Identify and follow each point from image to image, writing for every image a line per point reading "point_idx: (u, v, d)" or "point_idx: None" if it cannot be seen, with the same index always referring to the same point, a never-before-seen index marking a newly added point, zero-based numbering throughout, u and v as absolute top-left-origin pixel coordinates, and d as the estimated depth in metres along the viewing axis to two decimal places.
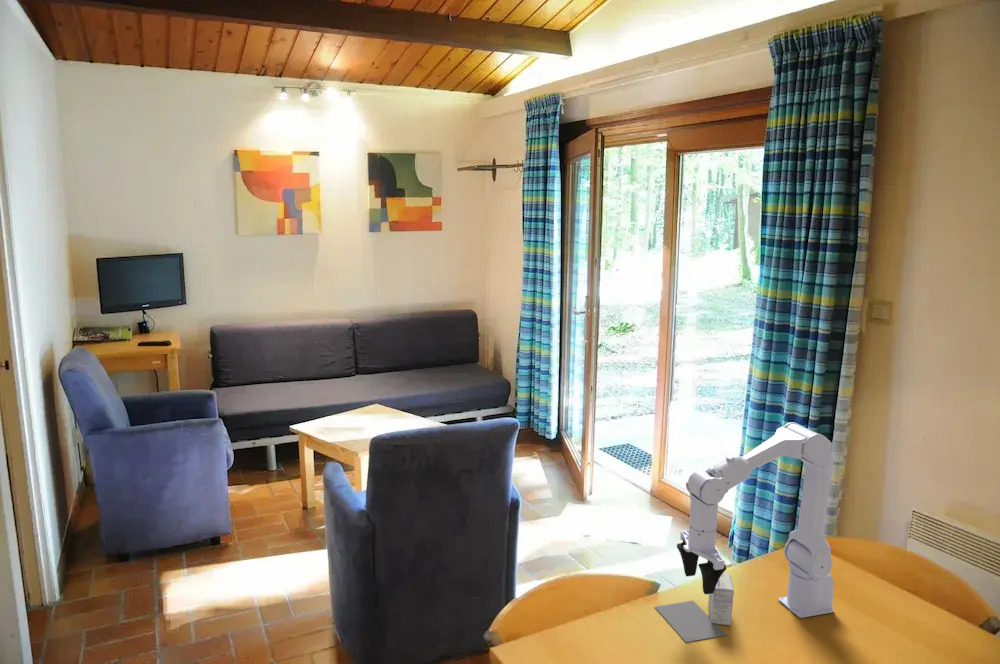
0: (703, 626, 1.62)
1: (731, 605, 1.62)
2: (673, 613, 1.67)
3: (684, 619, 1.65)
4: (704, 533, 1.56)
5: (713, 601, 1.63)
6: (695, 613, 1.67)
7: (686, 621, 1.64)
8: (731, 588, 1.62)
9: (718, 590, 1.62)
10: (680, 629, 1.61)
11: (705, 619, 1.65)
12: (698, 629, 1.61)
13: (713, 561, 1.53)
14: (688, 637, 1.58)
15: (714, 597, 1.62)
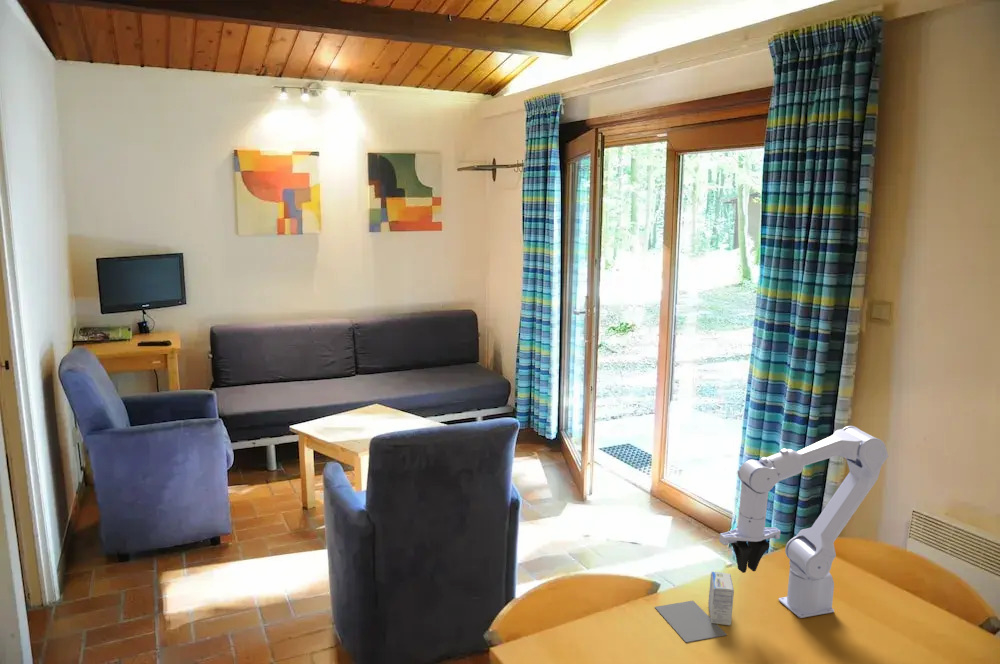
0: (703, 626, 1.62)
1: (731, 605, 1.62)
2: (673, 613, 1.67)
3: (684, 619, 1.65)
4: (739, 513, 1.65)
5: (713, 601, 1.63)
6: (695, 613, 1.67)
7: (686, 621, 1.64)
8: (731, 588, 1.62)
9: (719, 590, 1.62)
10: (680, 629, 1.61)
11: (705, 619, 1.65)
12: (698, 629, 1.61)
13: None
14: (688, 637, 1.58)
15: (714, 597, 1.62)
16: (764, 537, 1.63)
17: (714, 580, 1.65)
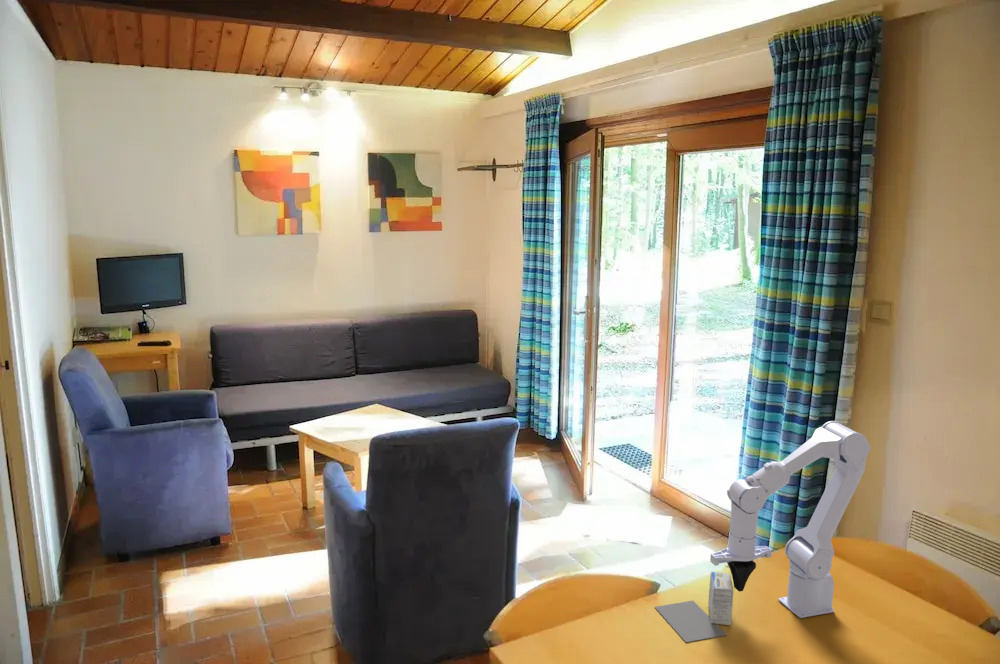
0: (703, 626, 1.62)
1: (731, 605, 1.62)
2: (673, 613, 1.67)
3: (684, 619, 1.65)
4: (729, 533, 1.65)
5: (713, 601, 1.63)
6: (695, 613, 1.67)
7: (686, 621, 1.64)
8: (731, 588, 1.62)
9: (718, 590, 1.62)
10: (680, 629, 1.61)
11: (705, 619, 1.65)
12: (698, 629, 1.61)
13: None
14: (688, 637, 1.58)
15: (714, 597, 1.62)
16: (755, 557, 1.63)
17: (714, 580, 1.65)
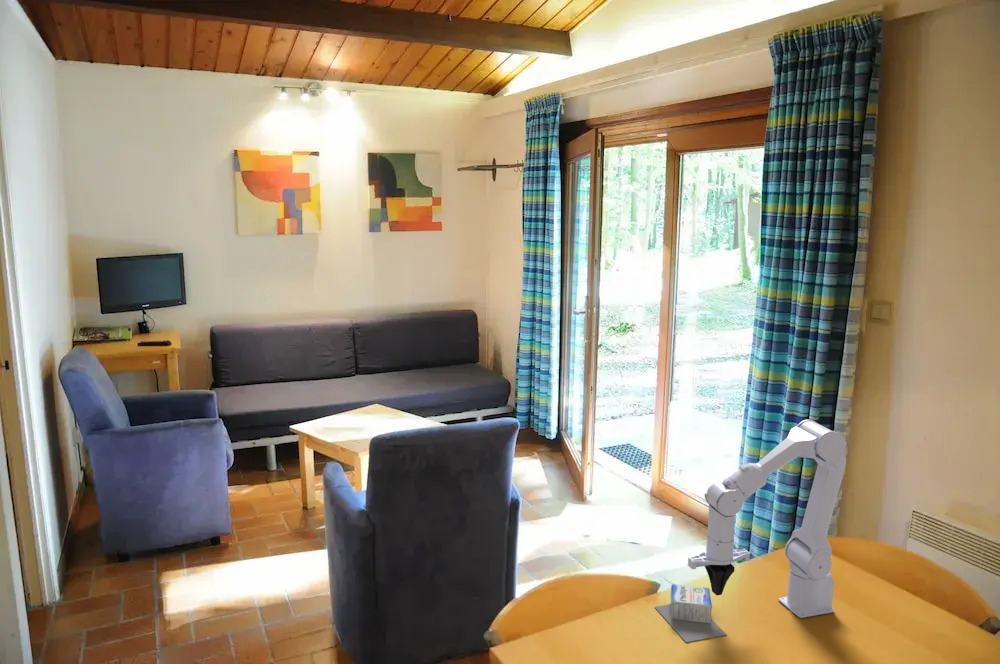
0: (703, 626, 1.62)
1: (688, 604, 1.64)
2: None
3: None
4: (707, 536, 1.63)
5: (686, 619, 1.65)
6: None
7: (686, 621, 1.64)
8: (671, 601, 1.65)
9: (673, 614, 1.65)
10: (680, 629, 1.61)
11: None
12: (698, 629, 1.61)
13: None
14: (688, 637, 1.58)
15: (681, 618, 1.65)
16: (733, 560, 1.62)
17: None
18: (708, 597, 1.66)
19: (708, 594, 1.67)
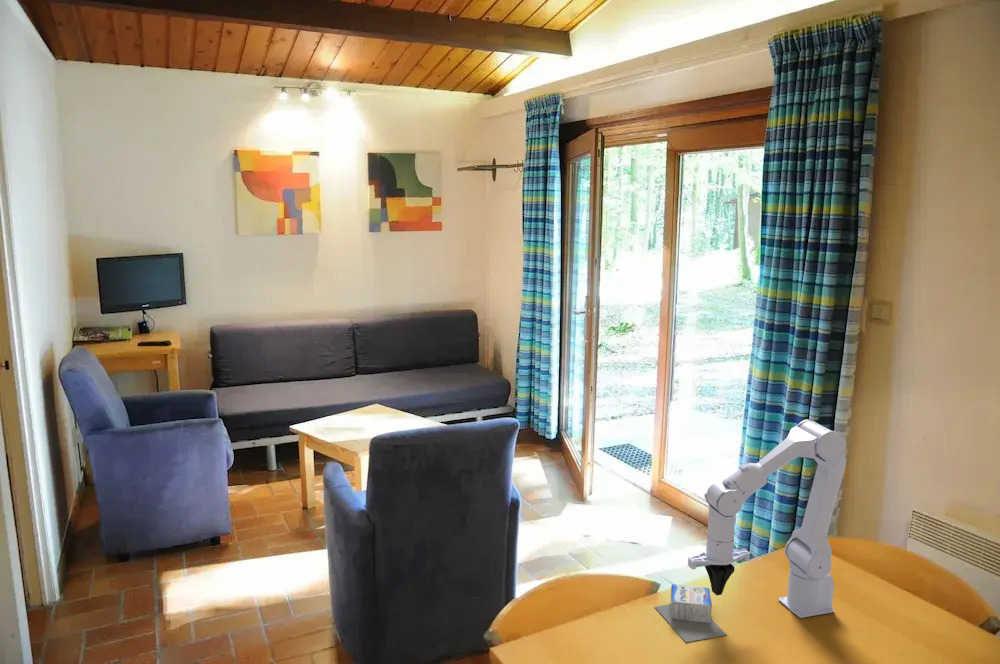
0: (703, 626, 1.62)
1: (688, 604, 1.64)
2: None
3: None
4: (707, 536, 1.63)
5: (686, 619, 1.65)
6: None
7: (686, 621, 1.64)
8: (671, 601, 1.65)
9: (673, 614, 1.65)
10: (680, 629, 1.61)
11: None
12: (698, 629, 1.61)
13: None
14: (688, 637, 1.58)
15: (681, 618, 1.65)
16: (733, 560, 1.62)
17: None
18: (708, 597, 1.66)
19: (708, 594, 1.67)
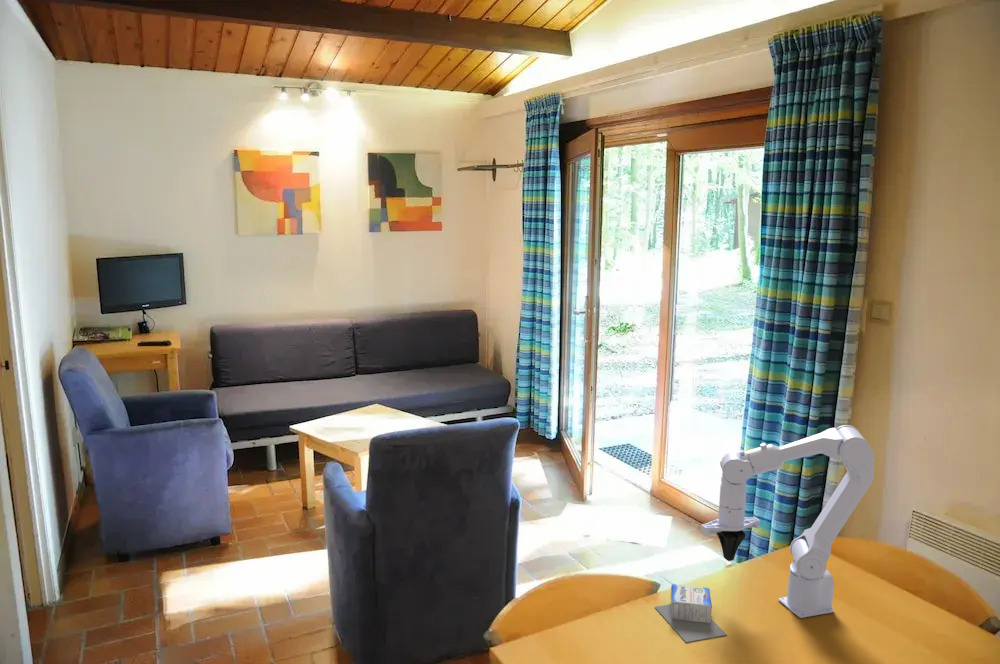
0: (703, 626, 1.62)
1: (688, 604, 1.64)
2: None
3: None
4: (719, 504, 1.70)
5: (686, 619, 1.65)
6: None
7: (686, 621, 1.64)
8: (671, 601, 1.65)
9: (673, 614, 1.65)
10: (680, 629, 1.61)
11: None
12: (698, 629, 1.61)
13: None
14: (688, 637, 1.58)
15: (681, 618, 1.65)
16: (744, 527, 1.69)
17: None
18: (708, 597, 1.66)
19: (708, 594, 1.67)
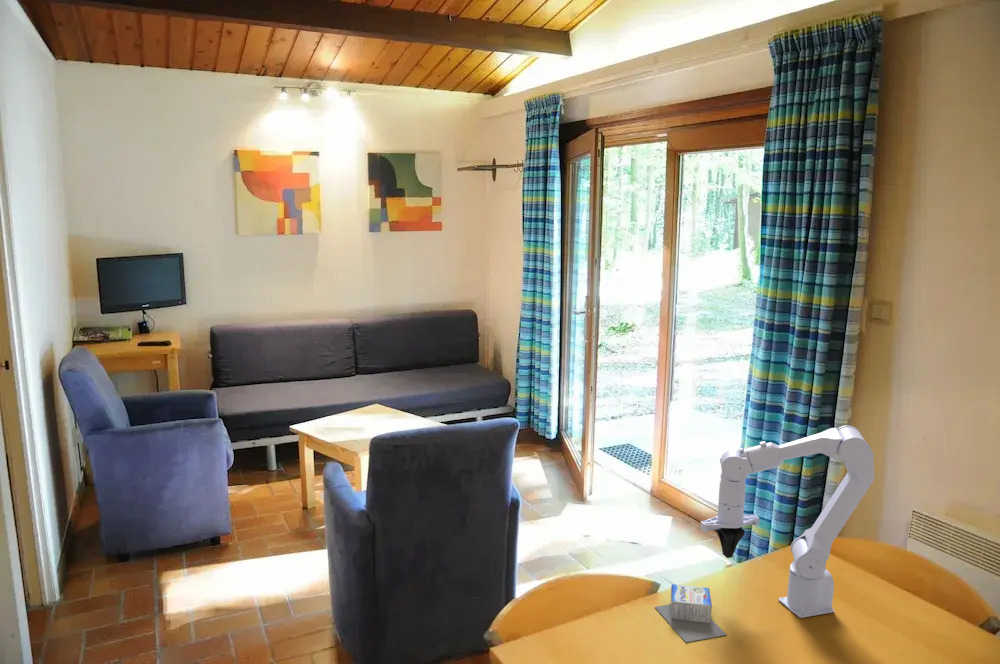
0: (703, 626, 1.62)
1: (688, 604, 1.64)
2: None
3: None
4: None
5: (686, 619, 1.65)
6: None
7: (686, 621, 1.64)
8: (671, 601, 1.65)
9: (673, 614, 1.65)
10: (680, 629, 1.61)
11: None
12: (698, 629, 1.61)
13: None
14: (688, 637, 1.58)
15: (681, 618, 1.65)
16: (743, 524, 1.70)
17: None
18: (708, 597, 1.66)
19: (708, 594, 1.67)
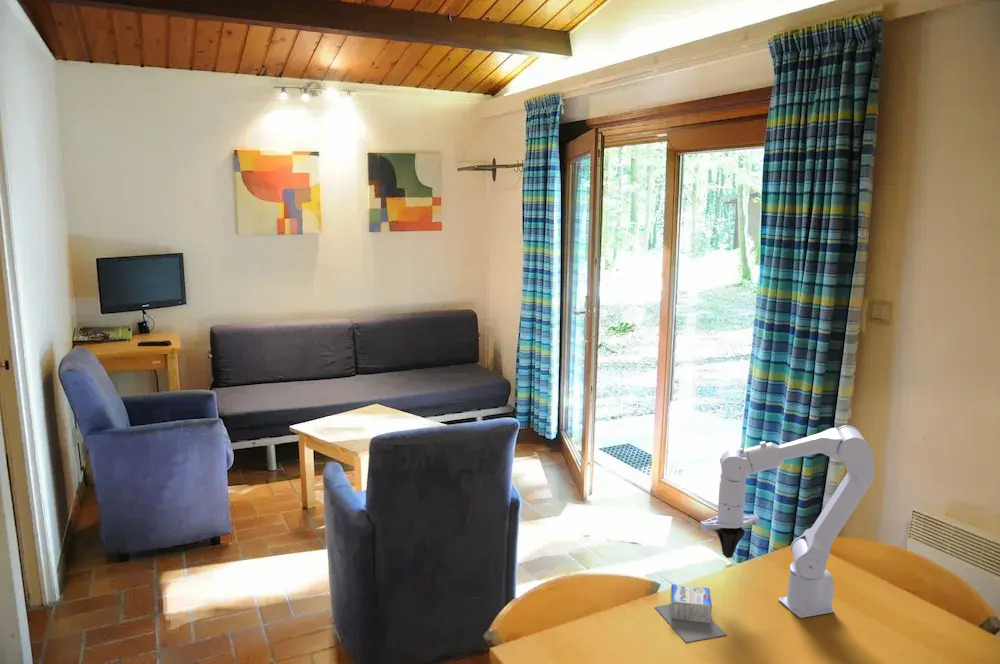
0: (703, 626, 1.62)
1: (688, 604, 1.64)
2: None
3: None
4: None
5: (686, 619, 1.65)
6: None
7: (686, 621, 1.64)
8: (671, 601, 1.65)
9: (673, 614, 1.65)
10: (680, 629, 1.61)
11: None
12: (698, 629, 1.61)
13: None
14: (688, 637, 1.58)
15: (681, 618, 1.65)
16: (743, 524, 1.70)
17: None
18: (708, 597, 1.66)
19: (708, 594, 1.67)
